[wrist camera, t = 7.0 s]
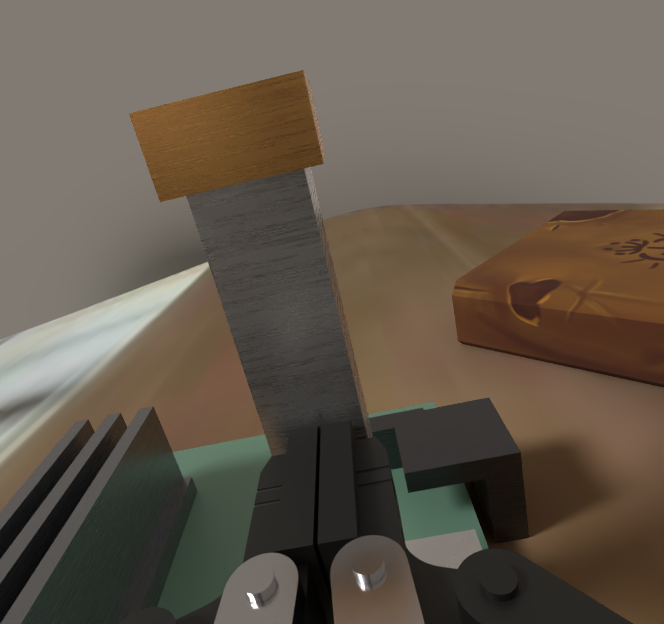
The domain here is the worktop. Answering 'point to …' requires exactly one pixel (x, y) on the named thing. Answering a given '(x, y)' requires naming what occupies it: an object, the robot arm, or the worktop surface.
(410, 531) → the board
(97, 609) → the heatsink
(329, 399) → the clip lever
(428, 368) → the worktop surface
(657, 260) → the diary
